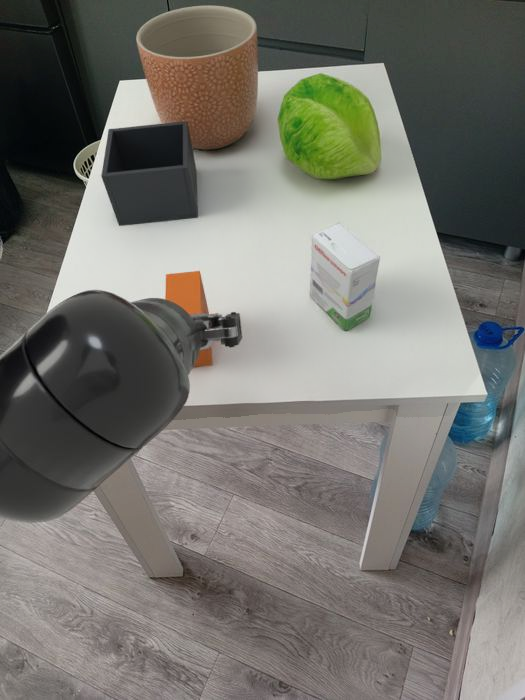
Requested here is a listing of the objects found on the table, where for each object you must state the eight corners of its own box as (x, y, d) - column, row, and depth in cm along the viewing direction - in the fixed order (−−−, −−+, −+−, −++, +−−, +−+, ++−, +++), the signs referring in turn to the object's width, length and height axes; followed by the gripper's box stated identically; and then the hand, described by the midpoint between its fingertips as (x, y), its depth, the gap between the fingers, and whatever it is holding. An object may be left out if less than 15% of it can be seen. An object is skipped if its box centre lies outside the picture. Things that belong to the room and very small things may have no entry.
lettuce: (350, 219, 87) (413, 138, 79) (251, 150, 83) (306, 57, 74) (349, 188, 101) (402, 116, 93) (264, 128, 97) (311, 47, 88)
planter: (138, 139, 103) (110, 37, 88) (210, 96, 112) (196, -4, 96) (212, 176, 94) (196, 70, 79) (283, 126, 103) (281, 21, 88)
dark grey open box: (118, 225, 87) (101, 176, 80) (124, 178, 96) (108, 128, 88) (197, 217, 88) (188, 167, 80) (196, 170, 96) (187, 120, 88)
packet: (180, 368, 69) (164, 321, 61) (180, 323, 74) (165, 274, 66) (212, 365, 69) (201, 317, 61) (210, 320, 74) (199, 270, 66)
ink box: (371, 316, 73) (383, 255, 63) (344, 332, 71) (351, 272, 62) (334, 281, 77) (339, 219, 68) (308, 295, 76) (309, 234, 66)
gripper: (233, 290, 38) (237, 285, 54) (43, 310, 38) (104, 299, 54) (243, 388, 39) (245, 354, 55) (59, 407, 39) (114, 368, 55)
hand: (175, 327), depth 55 cm, fingers open, 8 cm apart
